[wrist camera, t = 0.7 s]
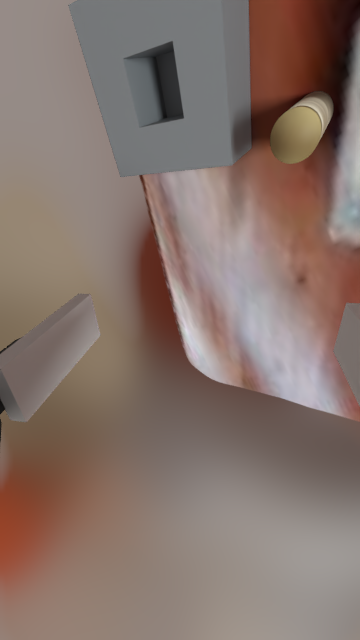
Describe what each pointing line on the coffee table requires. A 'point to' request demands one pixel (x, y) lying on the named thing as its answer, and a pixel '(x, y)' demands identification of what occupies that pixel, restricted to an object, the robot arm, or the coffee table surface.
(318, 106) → the peg
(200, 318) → the coffee table surface
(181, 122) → the socket block
